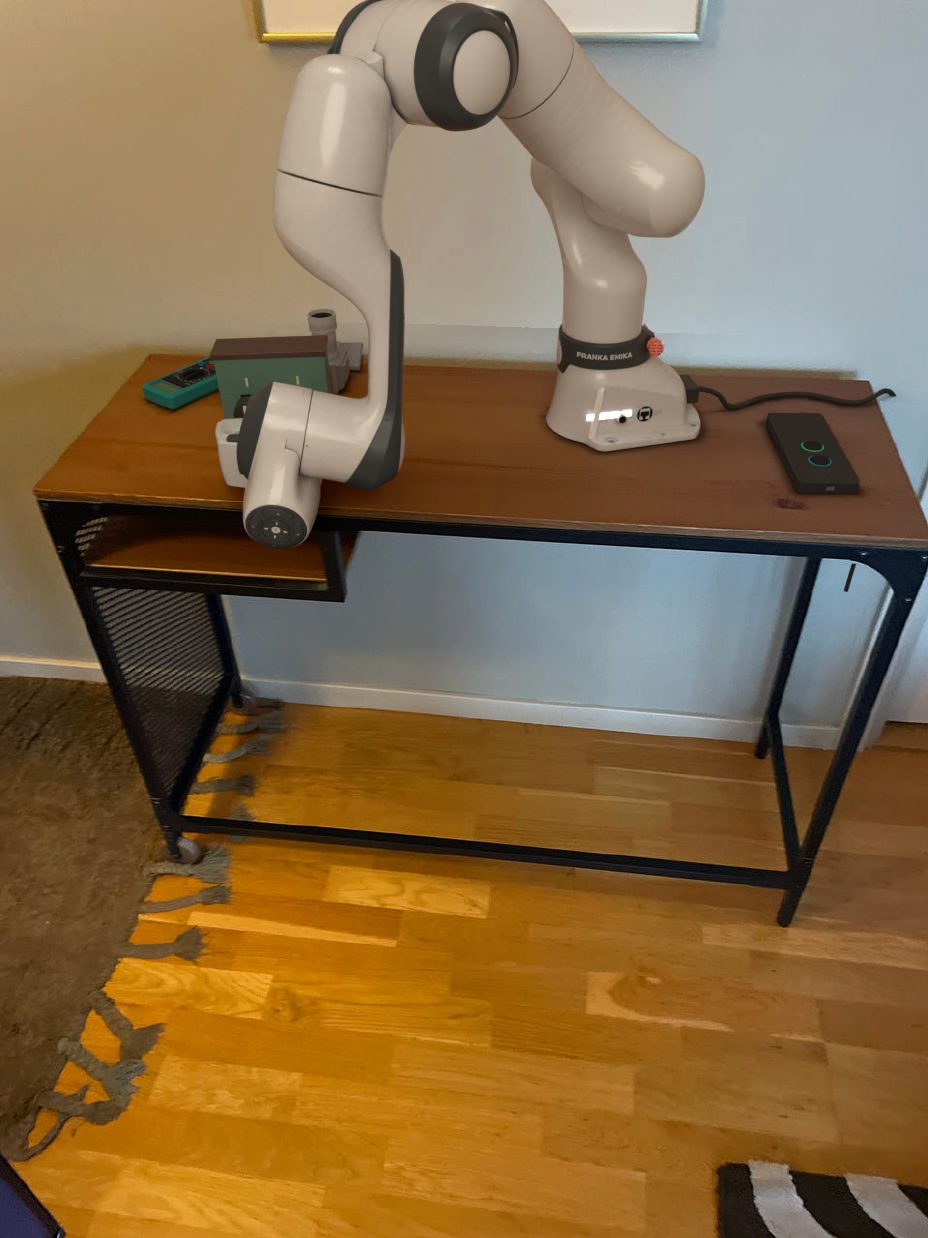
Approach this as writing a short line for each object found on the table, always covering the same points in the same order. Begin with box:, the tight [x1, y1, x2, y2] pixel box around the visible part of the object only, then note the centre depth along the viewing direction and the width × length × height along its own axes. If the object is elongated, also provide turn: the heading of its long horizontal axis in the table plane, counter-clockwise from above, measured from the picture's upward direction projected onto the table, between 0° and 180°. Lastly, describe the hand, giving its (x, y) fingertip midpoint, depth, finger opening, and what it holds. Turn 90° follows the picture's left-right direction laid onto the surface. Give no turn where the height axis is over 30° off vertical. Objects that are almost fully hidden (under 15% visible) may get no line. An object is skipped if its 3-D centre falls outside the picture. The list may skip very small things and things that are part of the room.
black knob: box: [233, 395, 251, 418], centre depth 127 cm, size 6×4×4 cm, turn 3°
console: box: [209, 335, 333, 419], centre depth 130 cm, size 6×16×14 cm, turn 93°
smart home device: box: [765, 412, 861, 495], centre depth 126 cm, size 8×2×20 cm
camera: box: [307, 308, 364, 395], centre depth 146 cm, size 9×12×15 cm
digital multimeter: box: [141, 355, 219, 411], centre depth 145 cm, size 7×15×3 cm, turn 142°
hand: (299, 411), depth 126 cm, fingers closed, pressing on steel knob
